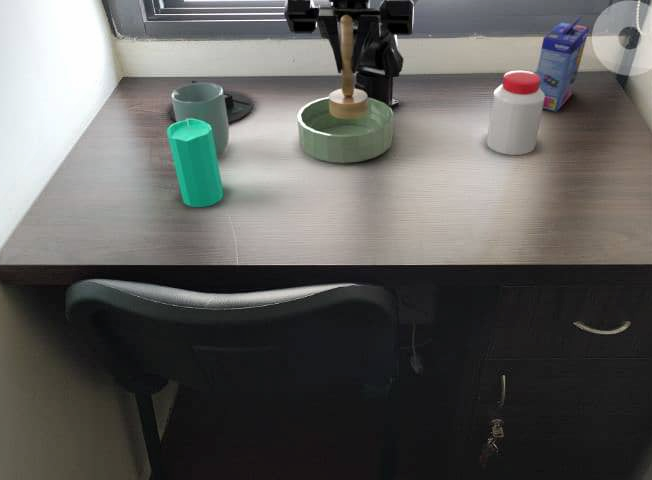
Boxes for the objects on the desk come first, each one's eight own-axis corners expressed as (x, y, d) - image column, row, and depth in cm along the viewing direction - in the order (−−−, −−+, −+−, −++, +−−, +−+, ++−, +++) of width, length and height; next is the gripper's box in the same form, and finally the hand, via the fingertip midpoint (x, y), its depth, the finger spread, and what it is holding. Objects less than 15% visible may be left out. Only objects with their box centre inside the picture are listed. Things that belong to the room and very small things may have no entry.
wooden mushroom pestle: (331, 102, 97) (328, 8, 87) (369, 103, 96) (369, 8, 87) (326, 118, 92) (322, 21, 83) (365, 119, 92) (365, 22, 82)
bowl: (348, 115, 108) (347, 87, 104) (410, 143, 99) (412, 114, 96) (281, 143, 100) (278, 114, 97) (342, 176, 92) (341, 146, 88)
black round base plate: (153, 112, 110) (145, 82, 106) (216, 86, 119) (212, 58, 115) (205, 135, 103) (199, 104, 99) (269, 106, 111) (266, 76, 107)
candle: (184, 186, 90) (167, 109, 82) (225, 184, 90) (211, 107, 83) (179, 208, 86) (160, 129, 78) (222, 206, 86) (207, 127, 78)
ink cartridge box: (558, 113, 107) (577, 27, 97) (528, 106, 109) (543, 22, 100) (574, 93, 113) (593, 11, 104) (545, 87, 115) (561, 6, 106)
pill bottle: (539, 138, 100) (553, 71, 93) (529, 159, 95) (542, 90, 87) (493, 129, 102) (503, 64, 95) (481, 149, 97) (490, 82, 90)
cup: (222, 165, 95) (211, 104, 88) (176, 161, 96) (162, 100, 89) (239, 143, 100) (230, 83, 94) (195, 139, 102) (183, 80, 95)
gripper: (279, -66, 82) (272, 45, 82) (416, -66, 81) (410, 47, 80) (294, -19, 93) (288, 79, 93) (415, -18, 92) (409, 82, 91)
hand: (346, 72), depth 89 cm, fingers closed on wooden mushroom pestle
